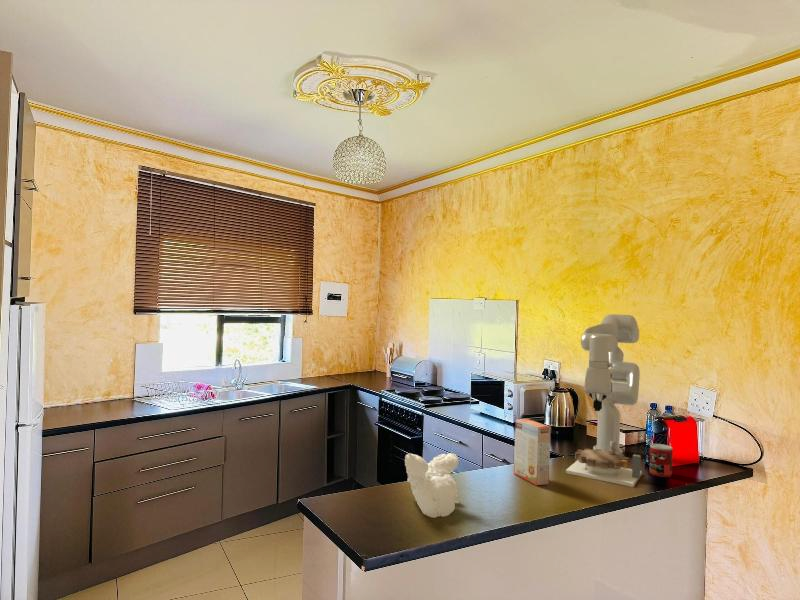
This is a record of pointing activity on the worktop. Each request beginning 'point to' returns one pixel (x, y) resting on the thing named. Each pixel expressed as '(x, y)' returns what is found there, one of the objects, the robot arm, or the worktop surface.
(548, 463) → the cracker box
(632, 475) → the stand
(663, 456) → the canned food
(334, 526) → the worktop surface
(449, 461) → the white lumpy piece
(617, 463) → the sprocket
